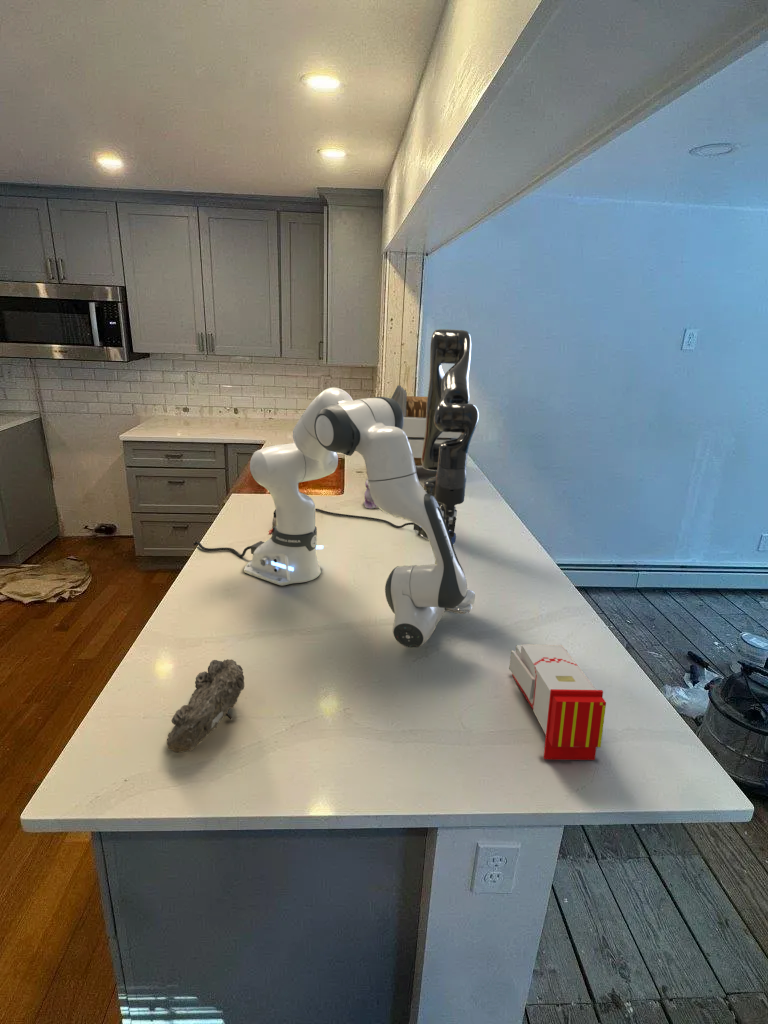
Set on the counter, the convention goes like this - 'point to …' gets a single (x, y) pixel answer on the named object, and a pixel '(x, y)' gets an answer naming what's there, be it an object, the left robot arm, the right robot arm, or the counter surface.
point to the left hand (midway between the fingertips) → (442, 581)
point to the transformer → (417, 422)
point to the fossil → (206, 705)
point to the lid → (453, 537)
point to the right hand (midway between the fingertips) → (445, 544)
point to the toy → (560, 700)
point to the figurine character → (274, 519)
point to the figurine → (368, 497)
